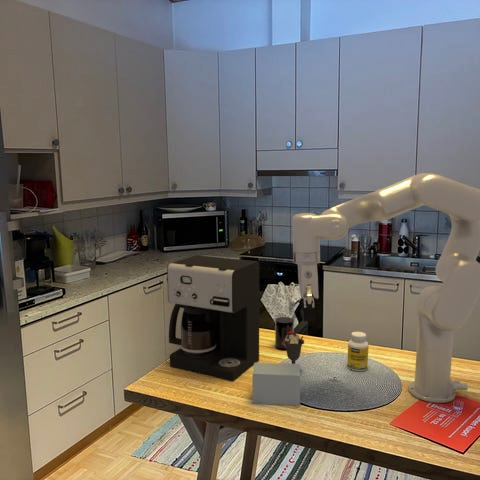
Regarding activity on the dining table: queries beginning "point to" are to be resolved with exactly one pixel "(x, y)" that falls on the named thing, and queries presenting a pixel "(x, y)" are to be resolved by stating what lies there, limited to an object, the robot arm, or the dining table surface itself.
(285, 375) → the grey rectangular block
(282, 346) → the supplement container
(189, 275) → the coffee maker
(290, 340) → the sundae
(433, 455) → the dining table surface
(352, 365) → the pill bottle
